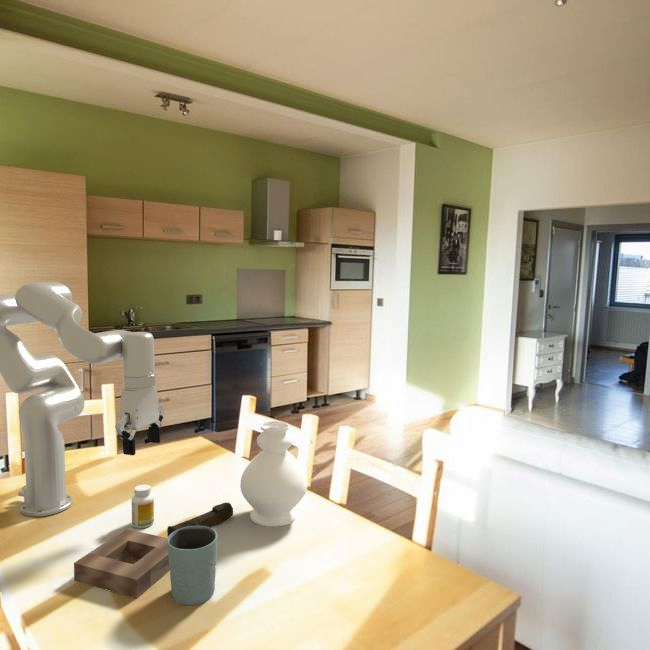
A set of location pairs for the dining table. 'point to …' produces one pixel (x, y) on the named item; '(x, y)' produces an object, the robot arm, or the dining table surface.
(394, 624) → the dining table surface
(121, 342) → the robot arm
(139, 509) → the supplement bottle
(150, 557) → the collar block
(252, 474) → the decorative vase
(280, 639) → the dining table surface
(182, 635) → the dining table surface
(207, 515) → the hand tool
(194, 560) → the blue grey cup
